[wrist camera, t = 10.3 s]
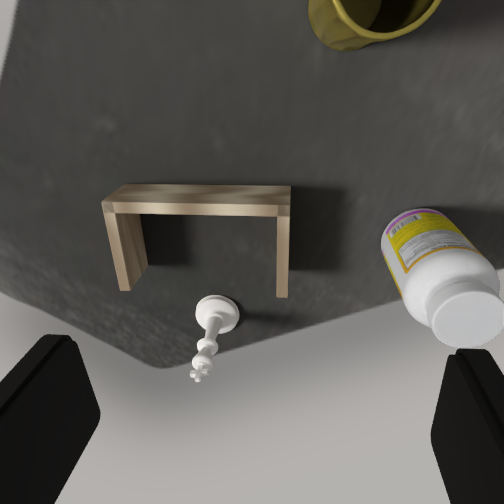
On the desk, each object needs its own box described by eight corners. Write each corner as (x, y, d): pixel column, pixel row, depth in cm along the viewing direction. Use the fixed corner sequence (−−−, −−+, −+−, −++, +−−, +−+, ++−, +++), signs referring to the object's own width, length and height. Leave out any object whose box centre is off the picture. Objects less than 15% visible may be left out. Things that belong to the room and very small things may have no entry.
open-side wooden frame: (290, 185, 35) (289, 205, 31) (288, 270, 39) (287, 297, 35) (124, 183, 37) (101, 201, 32) (139, 264, 41) (120, 290, 37)
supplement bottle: (439, 272, 38) (499, 367, 27) (372, 263, 38) (403, 352, 27) (463, 210, 35) (544, 287, 23) (390, 200, 35) (435, 272, 24)
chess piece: (244, 326, 44) (231, 396, 35) (204, 332, 45) (181, 402, 36) (232, 291, 41) (215, 356, 33) (190, 298, 42) (162, 363, 34)
